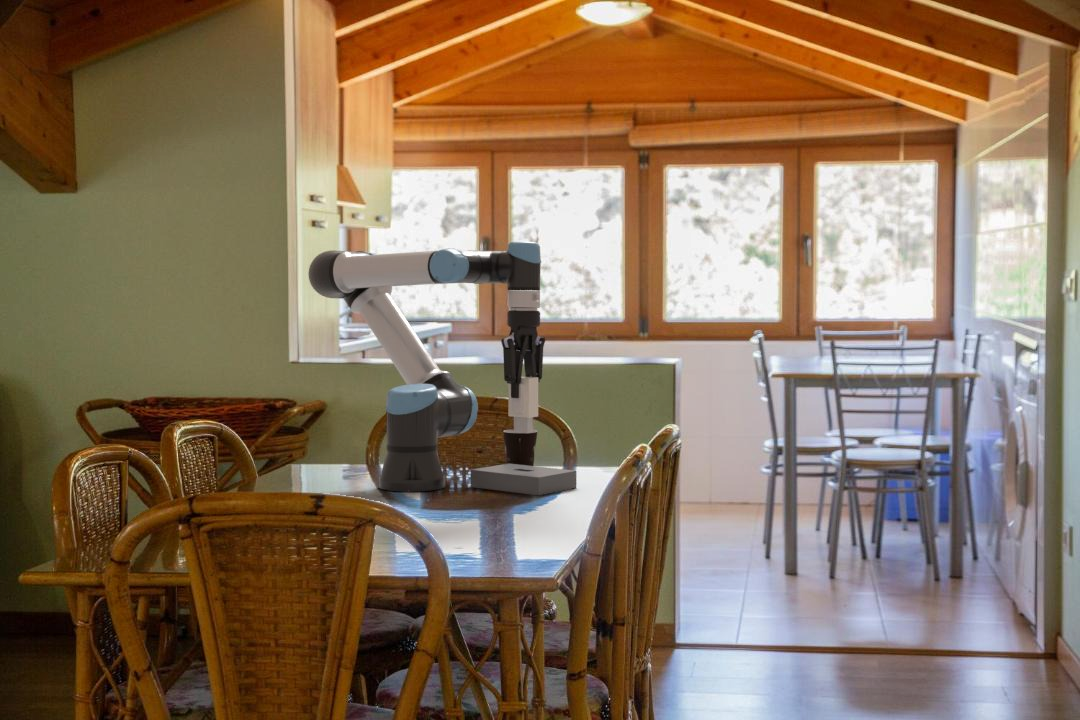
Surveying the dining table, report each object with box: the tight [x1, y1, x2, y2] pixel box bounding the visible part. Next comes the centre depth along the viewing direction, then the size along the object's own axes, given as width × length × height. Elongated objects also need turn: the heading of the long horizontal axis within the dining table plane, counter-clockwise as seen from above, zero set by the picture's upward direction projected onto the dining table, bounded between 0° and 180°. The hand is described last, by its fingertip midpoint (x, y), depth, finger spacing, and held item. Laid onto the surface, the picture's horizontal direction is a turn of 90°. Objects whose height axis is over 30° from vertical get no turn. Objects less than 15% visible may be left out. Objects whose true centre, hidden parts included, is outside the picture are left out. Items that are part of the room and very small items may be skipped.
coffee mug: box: [502, 429, 538, 466], centre depth 326 cm, size 12×9×10 cm
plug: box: [507, 376, 539, 433], centre depth 298 cm, size 6×4×13 cm, turn 52°
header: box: [470, 463, 577, 496], centre depth 299 cm, size 20×14×4 cm
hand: (523, 411), depth 298 cm, fingers closed on plug, 3 cm apart
